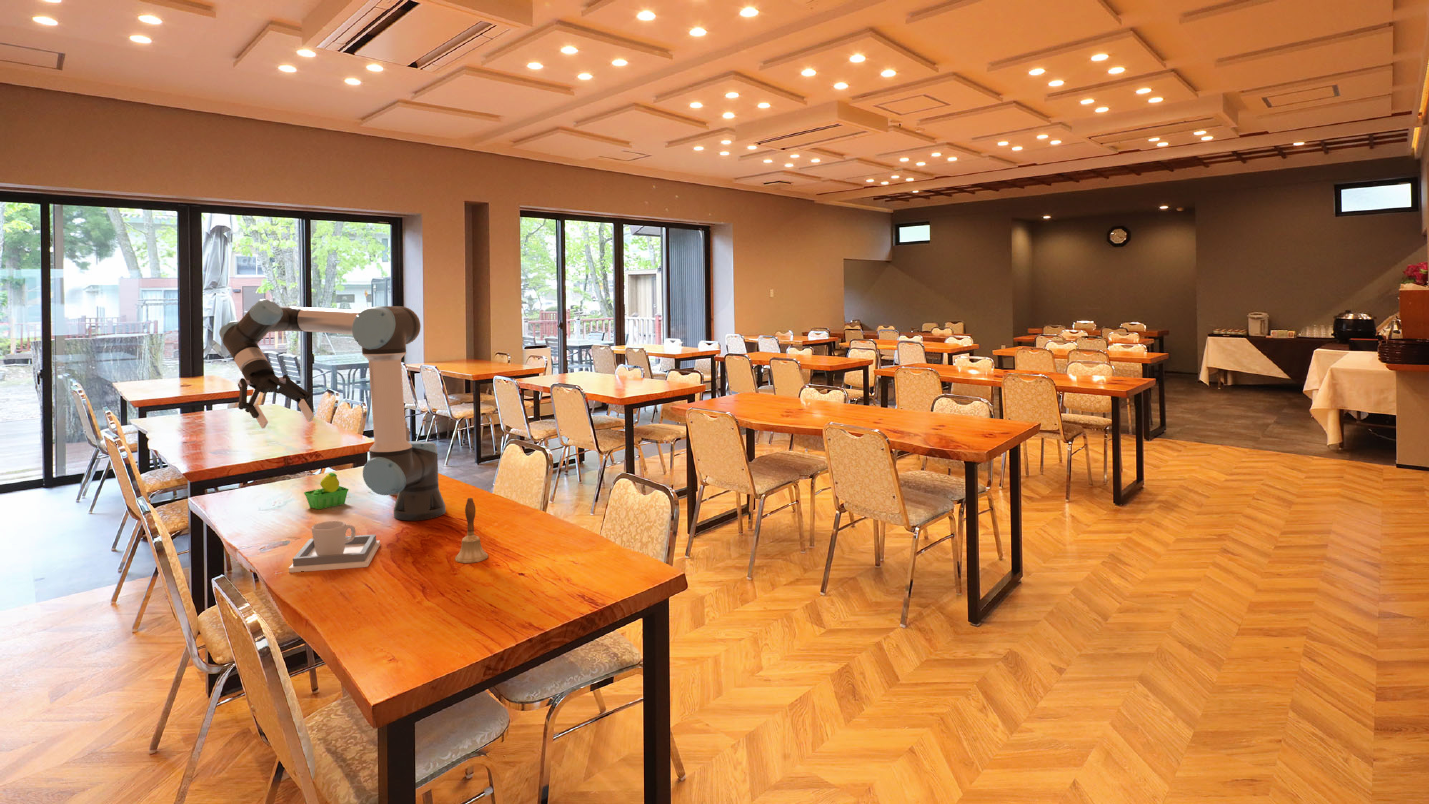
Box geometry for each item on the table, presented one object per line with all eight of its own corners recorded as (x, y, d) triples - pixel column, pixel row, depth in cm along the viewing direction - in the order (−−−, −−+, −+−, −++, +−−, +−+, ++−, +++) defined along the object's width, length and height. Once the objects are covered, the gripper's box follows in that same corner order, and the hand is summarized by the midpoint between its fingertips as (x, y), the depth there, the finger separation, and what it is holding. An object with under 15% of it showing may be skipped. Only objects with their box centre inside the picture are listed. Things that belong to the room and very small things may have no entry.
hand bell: (459, 553, 205) (456, 494, 203) (491, 552, 206) (489, 494, 204) (451, 563, 197) (448, 503, 195) (484, 563, 198) (482, 502, 195)
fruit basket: (338, 500, 257) (336, 467, 256) (352, 504, 252) (350, 470, 251) (303, 507, 248) (301, 473, 247) (318, 512, 243) (315, 477, 242)
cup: (347, 545, 207) (346, 516, 206) (364, 551, 203) (362, 521, 201) (307, 556, 198) (305, 526, 197) (323, 562, 194) (321, 531, 193)
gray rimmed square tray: (380, 544, 212) (379, 533, 211) (367, 566, 194) (367, 554, 194) (308, 549, 207) (307, 537, 207) (289, 572, 190) (288, 560, 190)
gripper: (291, 371, 238) (324, 424, 233) (205, 379, 217) (239, 436, 211) (300, 355, 235) (334, 408, 229) (214, 361, 213) (249, 419, 208)
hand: (288, 422), depth 220 cm, fingers open, 13 cm apart
